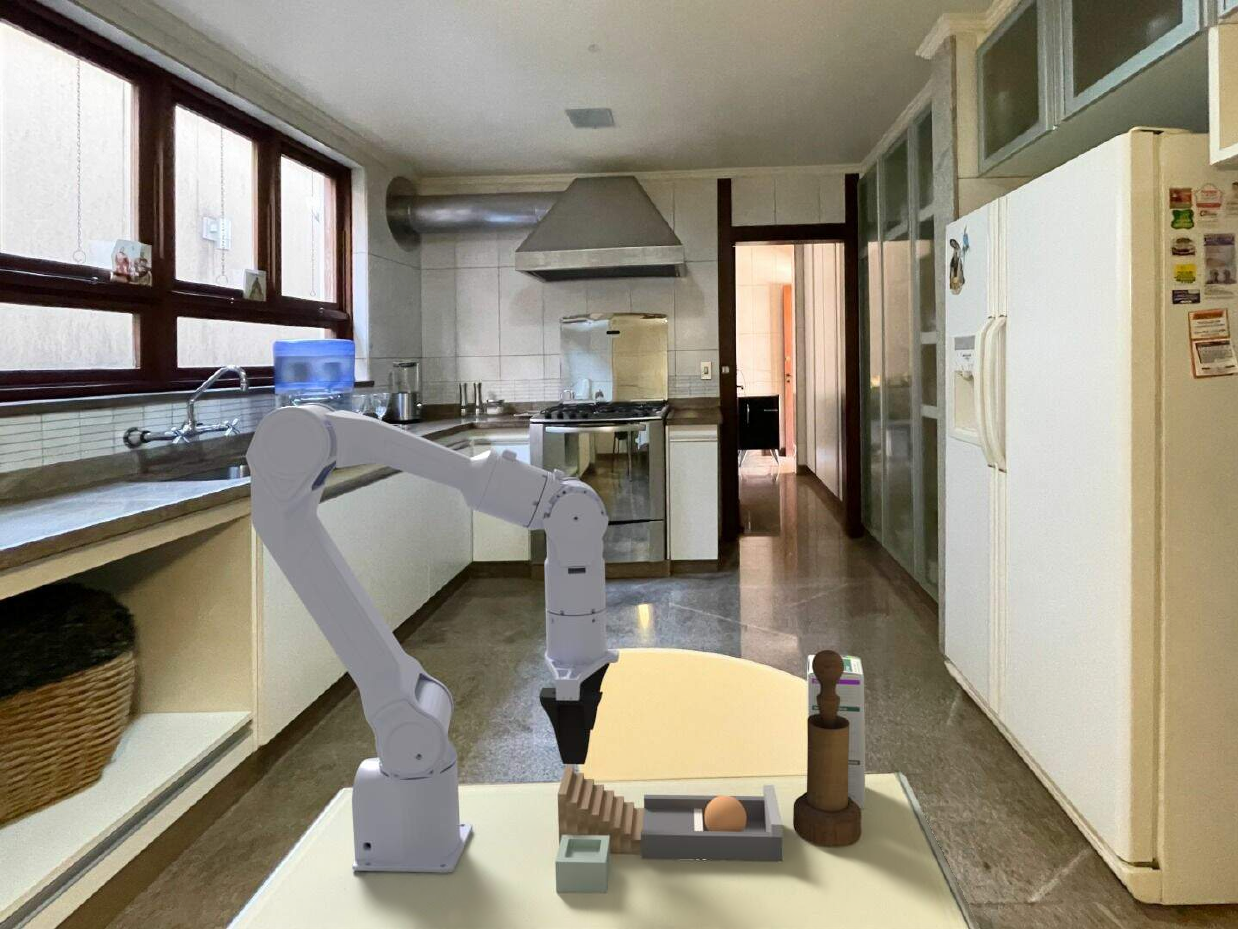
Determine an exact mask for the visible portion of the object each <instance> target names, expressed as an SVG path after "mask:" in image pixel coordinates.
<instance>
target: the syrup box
mask: <svg viewBox="0 0 1238 929" xmlns="http://www.w3.org/2000/svg"><path fill="white" fill-rule="evenodd" d="M815 655H816V654H815ZM815 655H814V654H808V657H807V666H806V668H807V669H806V670H807V671H806V672H807V676H806V677H807V678H806V679H807V681H806V683H807V684H806V685H807V686H806V687H807V688H806V689H807V691H806V692H807V693H806V694H807V718H808V717H809V716H811V715H814V714H820V713H819V709H818V705H817V700H816V696H817V695H818V694H820V690H821V686H820V683H819V682H818V680H817V678H816V676H815V674H814V672H813V669H812V661H813V658H814V656H815ZM839 655H840V656H841V658H842V660H843V663H844V671H843V674H842V676H841V678H840V679H839V681H838V683H837V685H836V689H835V690H836V694H837V695H838V696H839V697H840V705H839V709H838V712H837V715H838V716H842V717H844V718H846V719H847V720H848V721H849V760H848V796H849V797H850V798H851V799H852V800H853V801H854V802H855V803H856V804H857V805H858V806H859V807H860V810H865V805H866V801H865V800H866V728H865V727H866V726H865V725H866V723H865V675H864V670H863V664H862V659H861V657H859V656H855V655H854V656H853V655H846V654H839Z"/></svg>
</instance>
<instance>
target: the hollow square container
mask: <svg viewBox="0 0 1238 929" xmlns="http://www.w3.org/2000/svg"><path fill="white" fill-rule="evenodd" d="M554 862H555V863H554V864H555V890H556V891H555V892H556V893H591V894H593V893H594V894H606V893H607V891H608V884H609V878H610V877H609V876H610V870H611V854H610V836H602V835H562V838H561V842H560V845H559V844H558V850H557V854H556V858H555V861H554Z"/></svg>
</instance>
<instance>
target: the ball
mask: <svg viewBox="0 0 1238 929" xmlns="http://www.w3.org/2000/svg"><path fill="white" fill-rule="evenodd" d="M717 796H718V797H716V798H714V799H713V800H712V801H711V802H710V803H709V804H708V806H707V808H706V810H705V817H704V818H705V824H706V827H707V829H708V830H709V831H728V832H743V830H744V828H745V825H746V812H745V810H744V808H743V806H742V804H741V803H740V802H739V801H738V800H736V799H735V798H733V797H730V796H731V795H717Z"/></svg>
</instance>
